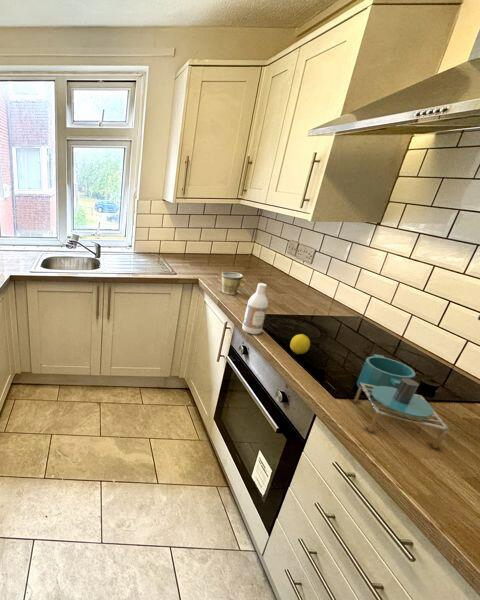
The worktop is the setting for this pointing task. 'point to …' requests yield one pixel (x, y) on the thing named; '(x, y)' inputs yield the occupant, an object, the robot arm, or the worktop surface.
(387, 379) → the pot
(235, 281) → the ceramic cup
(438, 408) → the worktop surface
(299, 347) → the lemon
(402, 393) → the lid
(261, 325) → the bath foam
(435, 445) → the rack
